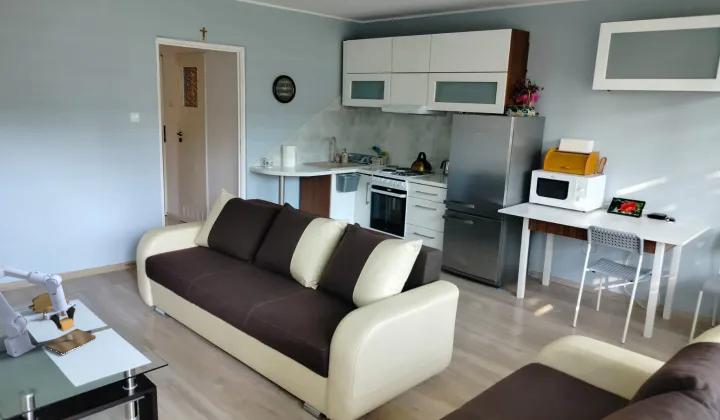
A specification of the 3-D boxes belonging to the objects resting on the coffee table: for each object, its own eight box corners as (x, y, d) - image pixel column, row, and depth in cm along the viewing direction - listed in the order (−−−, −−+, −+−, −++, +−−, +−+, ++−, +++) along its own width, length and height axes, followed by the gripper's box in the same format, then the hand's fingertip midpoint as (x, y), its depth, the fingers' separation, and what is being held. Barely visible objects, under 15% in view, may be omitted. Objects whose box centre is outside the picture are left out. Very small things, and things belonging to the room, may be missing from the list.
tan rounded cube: (63, 331, 241) (61, 324, 240) (57, 329, 244) (55, 321, 243) (74, 326, 246) (72, 319, 244) (68, 324, 248) (66, 316, 247)
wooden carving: (61, 302, 290) (57, 286, 287) (64, 304, 287) (60, 288, 284) (29, 315, 278) (24, 298, 275) (32, 317, 275) (27, 300, 272)
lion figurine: (70, 309, 280) (66, 295, 278) (73, 312, 277) (69, 297, 274) (40, 320, 271) (36, 305, 269) (42, 323, 267) (38, 308, 265)
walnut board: (63, 355, 236) (61, 347, 234) (45, 347, 244) (42, 339, 243) (96, 338, 248) (94, 330, 247) (77, 331, 257) (75, 323, 255)
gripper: (47, 308, 232) (55, 334, 236) (78, 294, 244) (84, 319, 248) (39, 305, 236) (46, 331, 240) (69, 292, 248) (76, 317, 252)
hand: (65, 325), depth 244 cm, fingers closed on tan rounded cube, 5 cm apart
